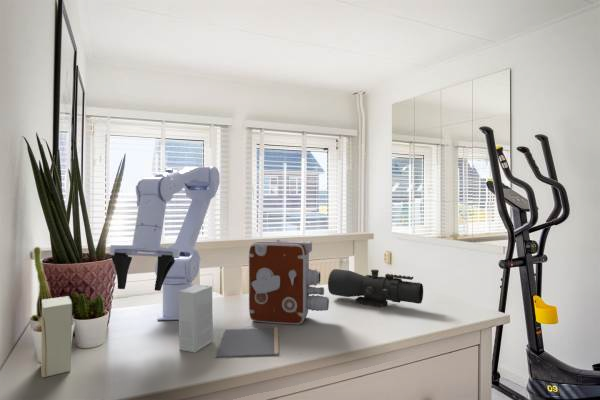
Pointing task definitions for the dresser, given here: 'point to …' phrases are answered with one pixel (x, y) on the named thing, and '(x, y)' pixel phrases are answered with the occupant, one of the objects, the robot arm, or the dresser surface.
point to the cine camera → (283, 282)
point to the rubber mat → (249, 343)
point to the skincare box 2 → (195, 317)
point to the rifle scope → (374, 288)
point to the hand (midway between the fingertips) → (139, 289)
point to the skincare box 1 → (56, 336)
